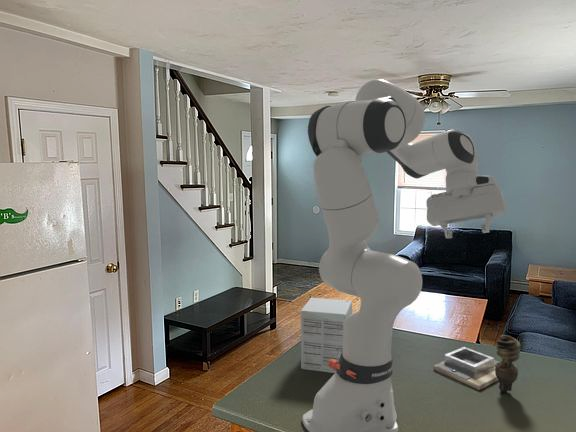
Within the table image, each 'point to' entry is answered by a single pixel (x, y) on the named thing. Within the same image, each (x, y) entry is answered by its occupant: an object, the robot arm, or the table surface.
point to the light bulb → (507, 362)
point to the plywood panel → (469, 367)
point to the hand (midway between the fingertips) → (466, 234)
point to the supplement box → (322, 332)
